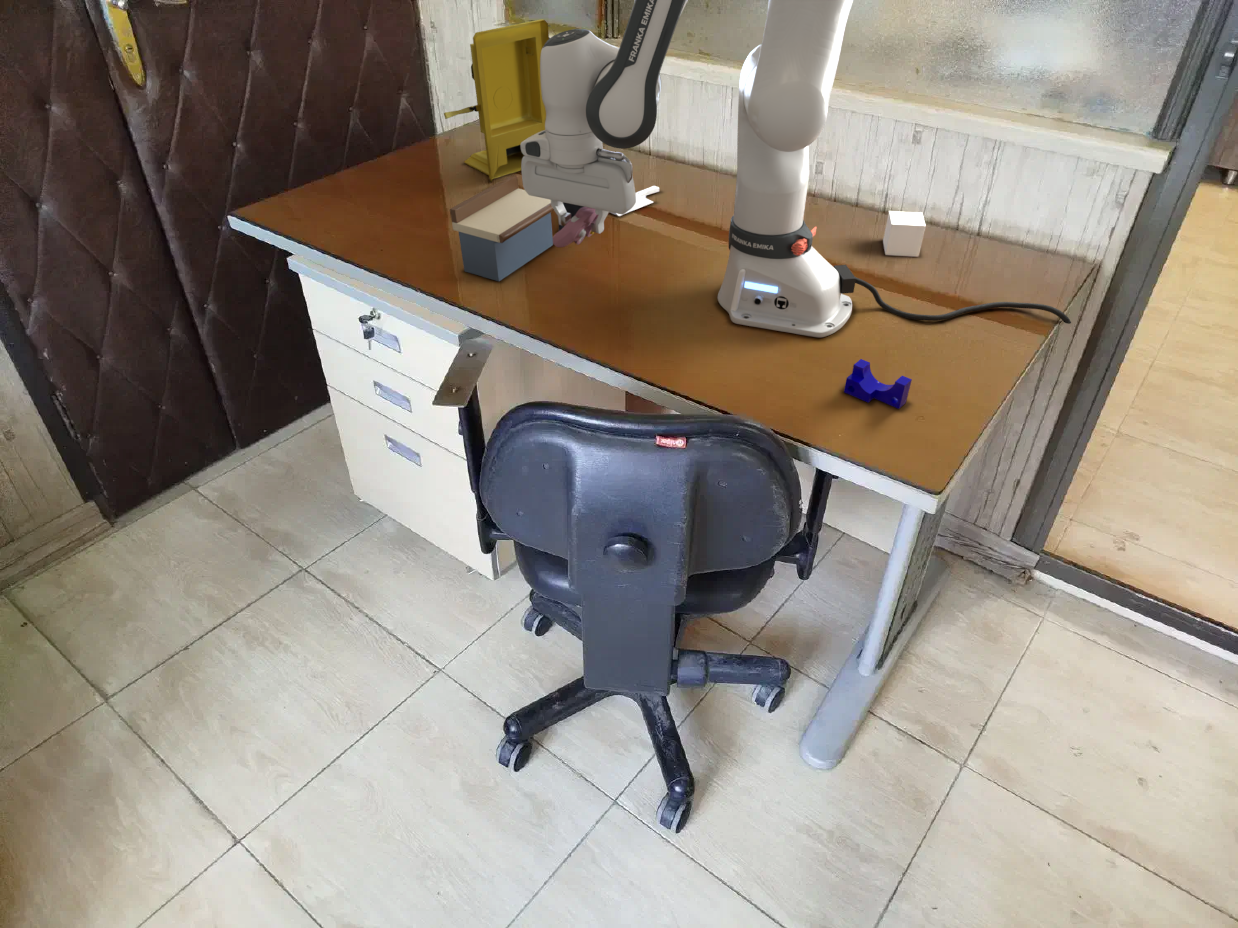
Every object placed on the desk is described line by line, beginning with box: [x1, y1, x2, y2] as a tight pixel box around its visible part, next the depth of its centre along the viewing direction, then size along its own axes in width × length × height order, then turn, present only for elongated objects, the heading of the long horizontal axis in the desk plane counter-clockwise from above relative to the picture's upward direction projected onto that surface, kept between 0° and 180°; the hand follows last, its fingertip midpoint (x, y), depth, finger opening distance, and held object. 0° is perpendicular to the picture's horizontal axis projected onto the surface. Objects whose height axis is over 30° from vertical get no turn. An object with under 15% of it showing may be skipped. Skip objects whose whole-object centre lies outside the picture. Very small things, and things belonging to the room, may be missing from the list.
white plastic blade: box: [609, 185, 660, 217], centre depth 173 cm, size 5×15×1 cm, turn 132°
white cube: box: [882, 210, 927, 258], centre depth 154 cm, size 6×6×6 cm
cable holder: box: [843, 358, 913, 410], centre depth 118 cm, size 8×4×4 cm, turn 48°
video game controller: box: [552, 207, 599, 248], centre depth 139 cm, size 10×5×7 cm, turn 148°
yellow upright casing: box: [443, 18, 557, 183], centre depth 183 cm, size 31×14×30 cm, turn 130°
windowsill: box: [449, 174, 555, 282], centre depth 151 cm, size 11×18×12 cm, turn 149°
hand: (581, 228), depth 139 cm, fingers closed on video game controller, 5 cm apart
